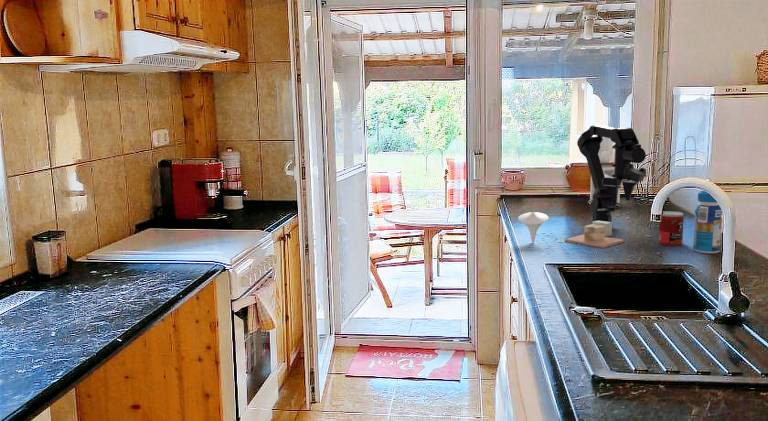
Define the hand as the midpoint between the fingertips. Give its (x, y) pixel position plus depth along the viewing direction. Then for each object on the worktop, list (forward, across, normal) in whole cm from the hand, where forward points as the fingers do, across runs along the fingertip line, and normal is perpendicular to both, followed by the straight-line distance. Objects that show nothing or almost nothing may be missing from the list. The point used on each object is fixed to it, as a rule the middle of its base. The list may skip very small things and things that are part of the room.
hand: (621, 201), depth 254 cm
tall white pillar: (+12, +52, +40) cm, 67 cm away
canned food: (+12, -6, -23) cm, 27 cm away
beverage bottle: (+12, -9, -37) cm, 40 cm away
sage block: (+12, -8, +3) cm, 15 cm away
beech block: (+11, -21, -2) cm, 24 cm away
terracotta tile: (+12, -21, -2) cm, 24 cm away
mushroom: (+12, -37, +13) cm, 41 cm away
